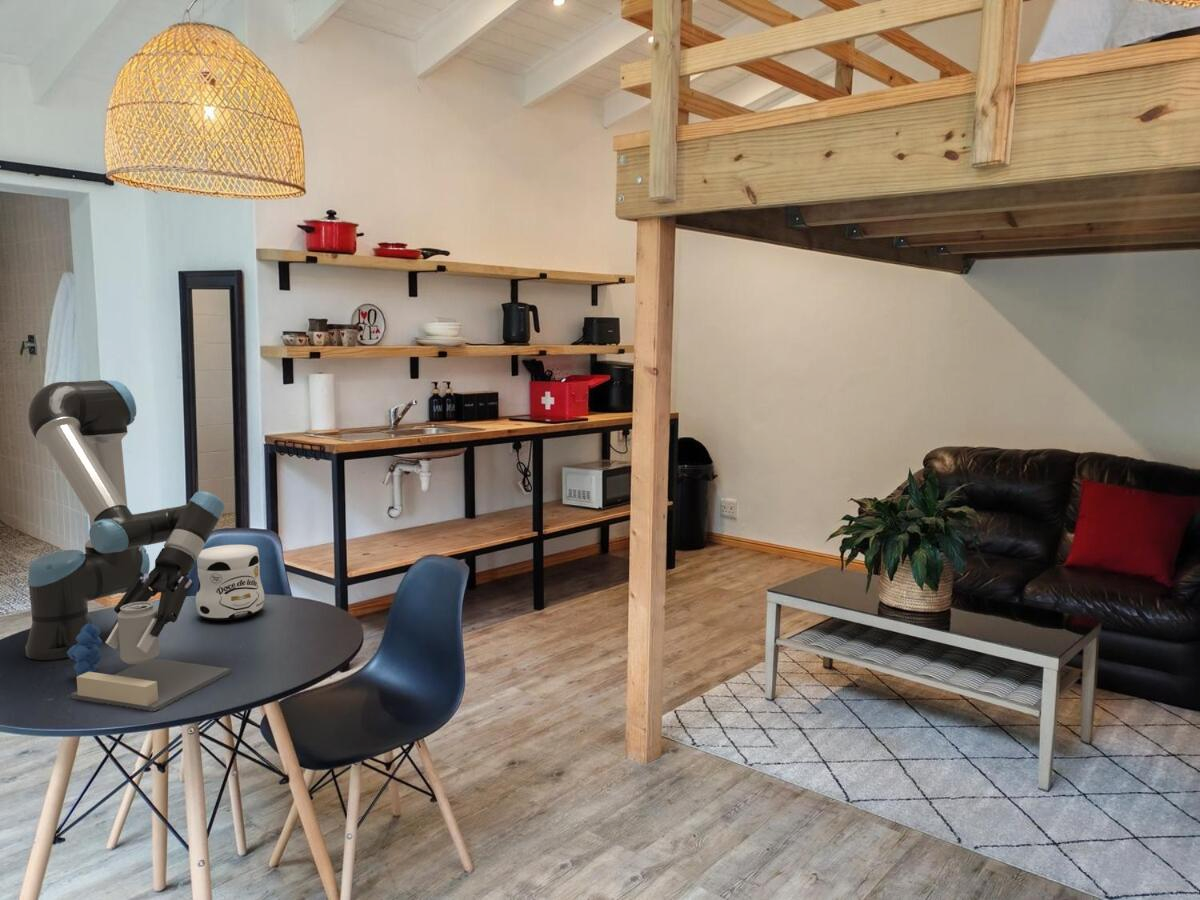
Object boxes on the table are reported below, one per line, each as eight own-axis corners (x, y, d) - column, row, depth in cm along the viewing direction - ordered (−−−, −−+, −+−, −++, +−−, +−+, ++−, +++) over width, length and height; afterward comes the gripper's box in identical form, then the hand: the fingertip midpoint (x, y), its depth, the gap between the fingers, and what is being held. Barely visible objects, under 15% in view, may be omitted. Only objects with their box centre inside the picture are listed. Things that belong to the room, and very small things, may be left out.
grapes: (78, 668, 202) (74, 618, 200) (110, 666, 203) (107, 616, 202) (58, 688, 190) (54, 634, 189) (92, 686, 192) (88, 633, 190)
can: (148, 665, 184) (144, 610, 183) (113, 665, 184) (109, 610, 183) (166, 653, 192) (163, 599, 190) (132, 653, 192) (128, 599, 190)
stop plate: (70, 698, 185) (69, 675, 184) (152, 662, 206) (151, 641, 205) (154, 711, 179) (153, 688, 178) (230, 672, 199) (229, 651, 199)
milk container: (240, 627, 231) (237, 560, 229) (182, 622, 235) (178, 556, 232) (277, 607, 248) (274, 545, 246) (222, 603, 251) (219, 542, 249)
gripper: (225, 566, 197) (176, 660, 184) (152, 559, 203) (99, 650, 190) (207, 548, 192) (154, 644, 178) (132, 542, 198) (76, 634, 184)
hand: (126, 647), depth 184 cm, fingers closed on can, 7 cm apart
